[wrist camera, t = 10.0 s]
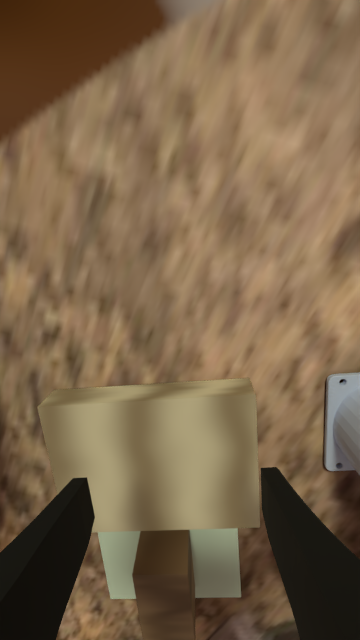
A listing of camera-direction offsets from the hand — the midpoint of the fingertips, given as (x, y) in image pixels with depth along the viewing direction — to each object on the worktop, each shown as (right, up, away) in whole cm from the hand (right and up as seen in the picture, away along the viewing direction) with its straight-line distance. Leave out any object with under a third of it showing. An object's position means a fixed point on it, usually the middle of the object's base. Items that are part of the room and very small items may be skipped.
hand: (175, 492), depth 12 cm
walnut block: (-1, -11, +11) cm, 15 cm away
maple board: (-2, -3, +12) cm, 12 cm away
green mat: (-1, -14, +14) cm, 20 cm away
